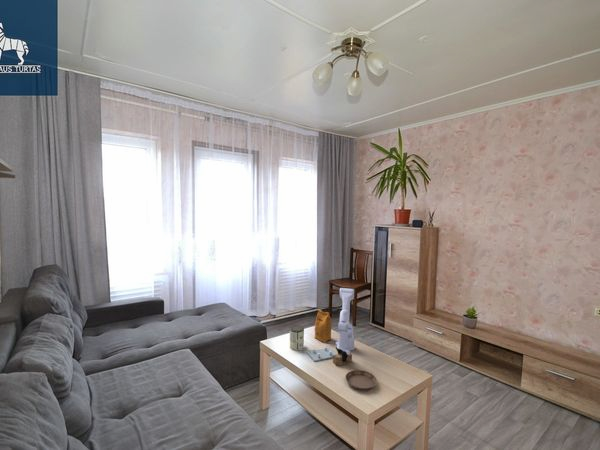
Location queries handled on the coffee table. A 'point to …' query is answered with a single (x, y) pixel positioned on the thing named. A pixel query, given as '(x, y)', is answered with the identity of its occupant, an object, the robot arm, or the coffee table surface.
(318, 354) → the peg board
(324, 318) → the coffee package
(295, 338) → the coffee can
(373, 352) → the coffee table surface
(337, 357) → the walnut bar
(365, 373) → the plant saucer
